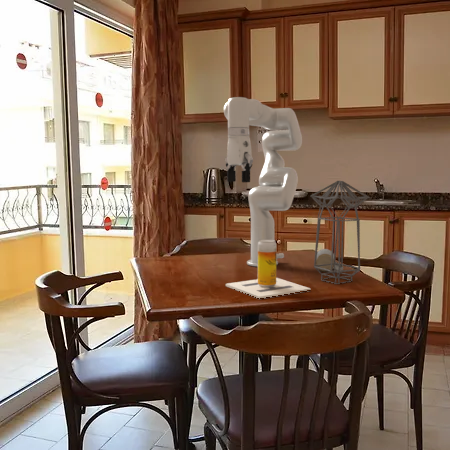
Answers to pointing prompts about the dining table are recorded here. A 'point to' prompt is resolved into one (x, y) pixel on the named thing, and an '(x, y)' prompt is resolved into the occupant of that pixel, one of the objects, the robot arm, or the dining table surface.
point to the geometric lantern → (338, 226)
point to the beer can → (267, 263)
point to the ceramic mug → (326, 260)
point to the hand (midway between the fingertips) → (238, 181)
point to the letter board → (263, 292)
